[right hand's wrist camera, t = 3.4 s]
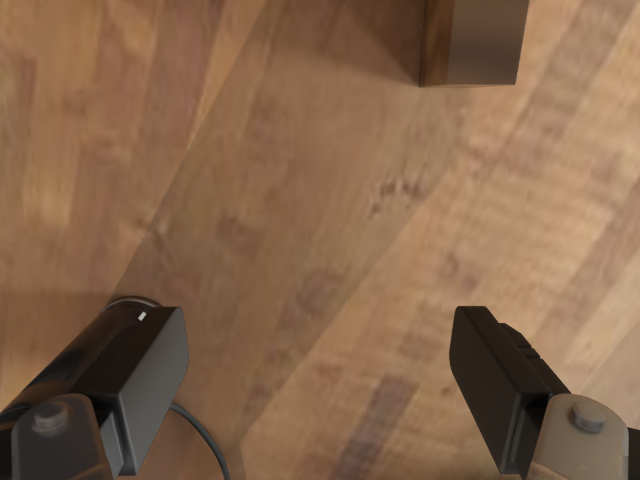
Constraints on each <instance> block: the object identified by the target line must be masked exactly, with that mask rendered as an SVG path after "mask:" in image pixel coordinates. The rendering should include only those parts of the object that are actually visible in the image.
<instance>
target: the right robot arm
mask: <svg viewBox="0 0 640 480" xmlns="http://www.w3.org/2000/svg"><path fill="white" fill-rule="evenodd" d="M449 360H450V366H451V370H452V373H453V375H454V377H455V379H456V382H457V384H458V386H459V388H460V390H461V392H462V394H463V396H464V398H465V400H466V403H467V405H468V407H469V409H470V411H471V413H472V415H473V417H474V419H475V421H476V423H477V426H478V428H479V430H480V432H481V434H482V436H483V438H484V440H485V442H486V444H487V447H488V449H489V451H490V453H491V455H492V457H493V459H494V461H495V463H496V465H497V467H498V470H499V472H500V474H520V476H521V478H522V480H640V430H637V429H633V428H628V427H626V425H625V423H624V422H623V420H622V419H621V418H620V417H619V416H618V415H617V414H616V413H615V412H613V411H612V410H611V409H609V408H608V407H606V406H605V405H603V404H601V403H599V402H597V401H595V400H593V399H590V398H587V397H584V396H581V395H576V394H572V393H571V392H570V391H569V390H568V389H567V387H566V386H565V385H564V384H563V383H562V381H561V380H560V379H559V378H558V377H557V376H556V374H555V373H554V372H553V371H552V370H551V368H550V367H549V366H548V365H547V364H546V363H545V361H544V360H543V359H540V355H539V354H538V353H537V352H536V351H535V350H534V348H531V345H530V344H529V342H528V341H527V340H526V339H525V338H524V336H523V335H522V334H521V333H519V332H518V331H516V330H515V329H513V328H512V327H510V326H509V325H507V324H505V323H498V321H497V320H496V319H495V317H494V316H493V315H492V314H491V312H490V311H489V310H488V309H487V308H486V307H485V306H458V307H457V308H456V310H455V315H454V322H453V329H452V336H451V343H450V351H449ZM188 361H189V351H188V344H187V337H186V330H185V323H184V316H183V311H182V309H181V308H180V307H162V306H161V305H160V304H158V303H156V302H154V301H152V300H150V299H147V298H143V297H137V296H128V297H122V298H119V299H116V300H114V301H112V302H111V303H110V304H108V305H107V306H106V307H105V308H104V309H103V310H102V311H101V313H100V314H99V315H98V316H97V317H96V318H95V319H94V320H93V321H92V322H91V323H90V324H89V325H88V326H87V327H86V328H85V329H84V330H83V331H82V332H81V333H80V334H79V335H78V336H77V337H76V338H75V339H74V340H73V341H72V342H71V343H70V344H69V345H68V346H67V347H66V348H65V349H64V350H63V351H62V352H61V353H60V354H59V355H58V356H57V357H56V358H55V359H54V360H53V361H52V362H51V363H50V364H49V365H48V366H47V367H46V368H45V369H44V370H43V371H42V372H41V373H40V374H39V375H38V376H37V377H36V378H35V379H34V380H33V381H32V382H31V383H30V384H29V385H28V386H27V387H26V388H25V389H24V390H23V391H22V392H21V393H20V394H19V395H18V396H17V397H16V398H15V399H14V400H13V401H12V402H11V403H10V404H9V405H8V406H7V407H6V408H5V409H4V410H3V411H2V412H1V413H0V480H115V479H116V477H117V476H136V475H137V473H138V471H139V469H140V467H141V465H142V463H143V461H144V459H145V457H146V455H147V453H148V451H149V448H150V446H151V444H152V442H153V440H154V438H155V436H156V434H157V432H158V430H159V428H160V426H161V424H162V422H163V419H164V417H165V415H166V413H167V411H168V410H169V409H171V410H173V411H175V412H177V413H179V414H180V415H182V416H183V417H184V418H186V419H187V420H188V421H189V422H190V423H191V424H192V425H193V426H194V427H195V428H196V430H197V431H198V432H199V433H200V434H201V436H202V437H203V438H204V440H205V441H206V442H207V444H208V445H209V446H210V448H211V449H212V451H213V452H214V454H215V456H216V458H217V460H218V462H219V464H220V467H221V469H222V473H223V476H224V479H225V480H231V479H230V476H229V472H228V469H227V466H226V463H225V460H224V458H223V456H222V454H221V452H220V450H219V448H218V447H217V445H216V444H215V442H214V441H213V440H212V438H211V437H210V435H209V434H208V433H207V431H206V430H205V429H204V428H203V426H202V425H201V424H200V423H199V422H198V421H197V420H196V419H195V418H194V417H193V416H192V415H190V414H189V413H188V412H187V411H186V410H185V409H183V408H182V407H180V406H178V405H176V404H174V403H172V401H173V399H174V397H175V395H176V393H177V391H178V388H179V386H180V384H181V382H182V380H183V378H184V376H185V374H186V371H187V367H188Z"/></svg>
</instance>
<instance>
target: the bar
mask: <svg viewBox="0 0 640 480" xmlns="http://www.w3.org/2000/svg"><path fill="white" fill-rule="evenodd" d="M528 6H529V0H426V2H425V14H424V26H423V38H422V51H421V63H420V75H419V87H491V86H510V85H516V80H517V74H518V68H519V61H520V55H521V49H522V43H523V37H524V31H525V25H526V19H527V13H528Z"/></svg>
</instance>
